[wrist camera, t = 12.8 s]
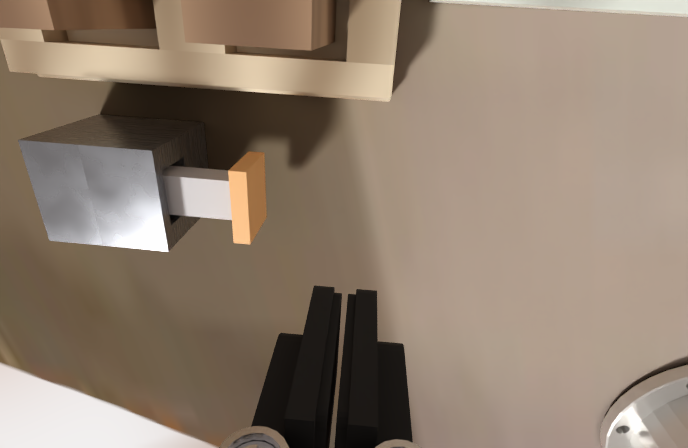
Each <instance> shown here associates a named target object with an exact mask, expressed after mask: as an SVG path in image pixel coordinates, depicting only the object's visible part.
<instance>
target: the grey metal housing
mask: <svg viewBox="0 0 688 448" xmlns="http://www.w3.org/2000/svg"><path fill="white" fill-rule="evenodd" d="M18 142H19V145H20V148H21V151H22V154H23V158H24V161H25V164H26V167H27V170H28V174H29V177H30V180H31V183H32V186H33V190H34V193H35V196H36V199H37V202H38V206H39V209H40V212H41V215H42V218H43V222H44V225H45V228H46V231H47V234H48V238H49V241H60V242H71V243H81V244H92V245H103V246H113V247H124V248H135V249H146V250H156V251H167V252H168V251H169V250H170V249H171V248H172V247H173V246H174V245H175V244H176V243H177V242H178V241H179V240H180V239H181V238H182V237H183V236H184V235H185V233H186V232H187V231H188V230H189V229H190V228H191V227H192V226H193V225H194V224H195V223H196V222H197V221H198V220H199V219H200V218H201V217H193V216H181V215H170V214H169V209H168V203H167V196H166V190H165V183H164V177H163V170H164V169H166V168H167V167H169V166H180V167H192V168H204V169H209V168H208V158H207V148H206V138H205V128H204V122H193V121H180V120H167V119H153V118H140V117H127V116H114V115H101V114H99V115H96V116H92V117H89V118H86V119H83V120H80V121H77V122H73V123H70V124H67V125H64V126H61V127H58V128H54V129H51V130H48V131H45V132H42V133H39V134H35V135H32V136H29V137H26V138H23V139H20V140H18Z"/></svg>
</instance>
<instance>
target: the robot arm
mask: <svg viewBox="0 0 688 448" xmlns="http://www.w3.org/2000/svg"><path fill="white" fill-rule="evenodd" d="M341 300H342V293H334V287H324V286H314V288H313V293H312V297H311V302H310V306H309V311H308V315H307V320H306V324H305V329H304V333H303V335H298V334H286V333H280V334H279V336H278V339H277V342H276V346H275V349H274V352H273V356H272V359H271V362H270V366H269V369H268V372H267V376H266V379H265V382H264V386H263V389H262V392H261V396H260V399H259V402H258V406H257V409H256V412H255V416H254V419H253V422H252V426H251V427H247V428H243V429H241V430H239V431H237V432H235V433H233V434H232V435H230V436H229V437H228V438H227V439H226V440H225V441H223V443H222V444H221V446H220V447H219V448H329V444H330V434H331V424H332V415H333V405H334V395H335V386H336V376H337V363H338V347H339V332H340V316H341ZM600 442H601V445H602V447H603V448H688V365H684V366H681V367H677V368H674V369H670V370H667V371H664V372H662V373H659V374H657V375H655V376H652V377H650V378H648V379H646V380H644V381H643V382H641V383H639V384H637V385H636V386H634V387H632V388H631V389H630V390H629V391H627V392H626V393H625V394H623V395H622V396H621V397H620V398H619V399H618V400H617V401H616V402H615V403H614V405H613V406H612V407H611V408H610V409H609V411H608V413H607V415H606V416H605V418H604V420H603V423H602V426H601V430H600ZM335 448H422V447H420V446H419V445H417V444H415V443H413V441H412V430H411V419H410V408H409V397H408V386H407V375H406V364H405V353H404V346H403V344H400V343H389V342H377V291H372V290H360V289H357V290H356V295H355V294H348V302H347V313H346V324H345V334H344V345H343V356H342V367H341V378H340V389H339V399H338V410H337V422H336V436H335Z"/></svg>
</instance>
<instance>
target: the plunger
mask: <svg viewBox="0 0 688 448" xmlns="http://www.w3.org/2000/svg"><path fill="white" fill-rule="evenodd" d="M163 177H164V183H165V190H166V196H167V203H168V209H169V214H170V215H181V216H193V217H204V218H215V219H227V220H232V227H233V240H234V243H240V244H251V242H252V241H253V239H254V237H255V236H256V234H257V232H258V231H259V229H260V227H261V226H262V224H263V222H264V221H265V219H266V218H267V215H266V186H265V158H264V153H262V152H250V151H249V152H247V153H246V154H245V155H244V156H243V157H242V158H241V159H240V160H239V161H238V162H237V163H236V164H235V165H234V166H233V167H232V168H231V169H229V170H217V169H204V168H192V167H180V166H169V167H167V168H166V169H164V170H163Z"/></svg>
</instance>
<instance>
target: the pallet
mask: <svg viewBox="0 0 688 448" xmlns="http://www.w3.org/2000/svg"><path fill="white" fill-rule="evenodd" d="M153 6H154V13H155V20H156V27H157V29H101V30H39V29H19V28H0V40H1V43H2V46H3V50H4V53H5V56H6V60H7V63H8V66H9V70H10V72H23V73H37V74H38V77H51V78H65V79H79V80H93V81H107V82H121V83H135V84H149V85H163V86H177V87H191V88H205V89H219V90H233V91H247V92H261V93H275V94H289V95H303V96H318V97H332V98H346V99H360V100H374V101H388V102H390V98H391V94H392V85H393V75H394V65H395V56H396V46H397V36H398V27H399V17H400V7H401V0H337V5H336V30H335V42H334V43H331V44H328V45H325V46H323V47H320V48H317V49H314V50H312V51H309V50H293V49H278V48H263V47H247V46H232V45H217V44H201V43H186V42H185V35H184V26H183V17H182V8H181V0H153Z"/></svg>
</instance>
